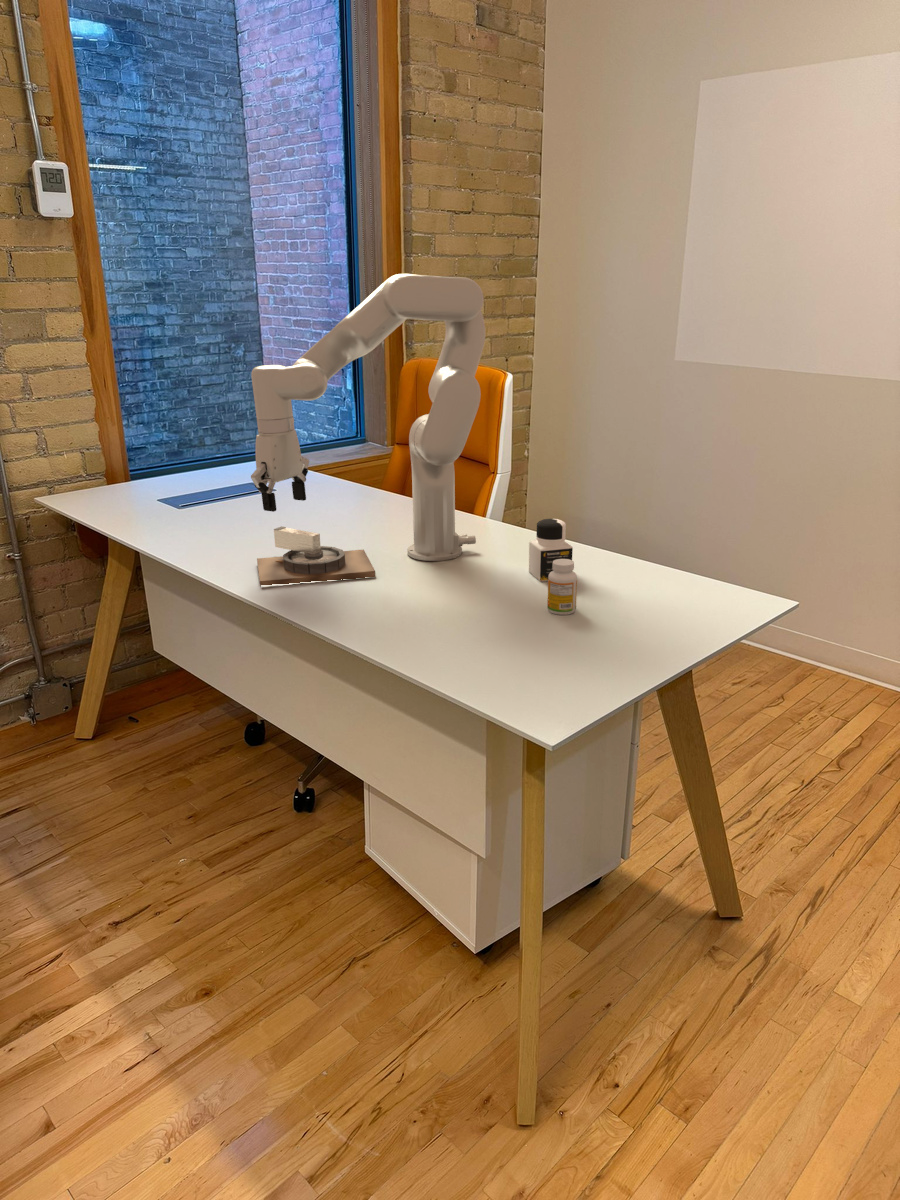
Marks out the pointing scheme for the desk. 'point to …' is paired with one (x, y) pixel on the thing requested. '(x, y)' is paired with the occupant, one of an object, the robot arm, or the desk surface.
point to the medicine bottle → (548, 548)
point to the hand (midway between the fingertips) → (285, 505)
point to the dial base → (315, 568)
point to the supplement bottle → (562, 587)
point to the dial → (302, 545)
